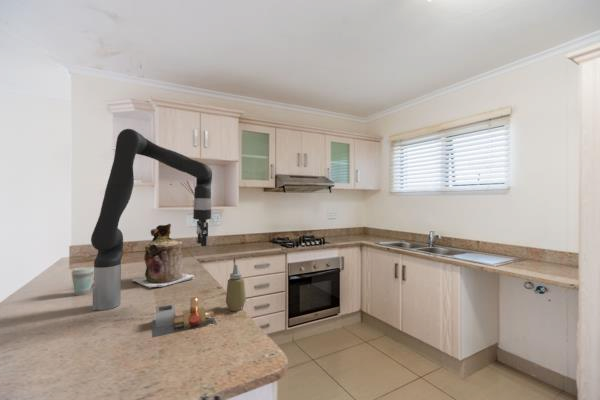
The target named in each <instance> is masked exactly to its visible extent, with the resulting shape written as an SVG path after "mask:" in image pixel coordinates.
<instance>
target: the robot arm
mask: <svg viewBox="0 0 600 400" xmlns="http://www.w3.org/2000/svg"><path fill="white" fill-rule="evenodd" d="M136 155H140V156H143V157H144V156H145V157H147V158H151V159H153V160H155V161H158V162H160V163H162V164H165V165H166V166H168V167H170V168H172V169H175V170H177V171H180V172H182V173H186V174H188V175H189V176H192V177H194V178H196V181H195V187H194V192H193V193H194V196H193V198H194V199H193V212H192V213H193V220H197V221H196V235H197V244H199V245H200V246H201V247H207V238H208V237H209V223H208V222H207V220H211V219H212V198H211V197H212V190H211V189H212V181H213V180H212V179H213V171H212V168H210V166H209V165H207V164H205V163H203V162H201V161H198V160H196V159H192V158H190V157H188V156H186V155H184V154H181V153H179V152H177V151H174V150H171V149H169V148H165V147H162V146H160V145H157V144H156V143H154V142H152V141H150V140H149V139H147V138H145V137H144V136H143V135H142V134H141V133H139V132H138V131H136V130H135V129H133V128H125V129H122V130H121V131H120V132H119V134H118V135H117V137H116V143H115V150H114V158H113V162H112V165H111V169H110V172H109V176H108V180H107V184H106V187H105V190H104V195H103V199H102V204H101V207H100V212H99V216H98V219H97V221H96V224H95V226H94V228H93V231H92V235H91V239H90V243H91V246H92V247H93V248H94V249H95V250H97V256H96V258H95V259H94V260H93V261H94V262H93V269H94V272H93V286H92V311H105V310H109V309H110V310H111V309H114V308H117V307H118V306H120V305H121V303H122V302H121V300H122V298H121V297H122V295H121V294H122V293H121V292H122V286H121V285H122V280H121V279H122V278H121V277H122V257H123V254H124V249H123V248H124V235H123V232H122V231H121V229H120V228H118V227H119V223H120V219H121V216H122V215H123V213H124V211H125V209H126V208H127V206H128V204H129V202H130V200H131V196H132V194H133V193H132V192H133V190H134V184H135V178H134V177H135V176H134V161H135V158H136Z"/></svg>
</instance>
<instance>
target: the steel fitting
mask: <svg viewBox="0 0 600 400" xmlns="http://www.w3.org/2000/svg"><path fill="white" fill-rule="evenodd" d="M175 316H176V307H175V303H171V304H165V305H161V306H155V320H156V328H157V327H162V326H167V325H172V324H174V318H175Z"/></svg>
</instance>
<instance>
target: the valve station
mask: <svg viewBox="0 0 600 400" xmlns="http://www.w3.org/2000/svg"><path fill="white" fill-rule="evenodd" d="M189 304H190V305H189V306H190V309H185V310H184V309H183V310H182V314H181V315H175V318H174V324H172V325H167V326H162V327H157V328H156V319H153V320H152V331H151V332H152V333H151V334H152V335H151V337H152V338H157V337H160V336H166V335H171V334H175V333H181V332H186V331H191V330H195V329H200V328H205V327H210V326H215V325H218V323H217V321H216V319H215V317H214V315H215V314H214V310H211V309H208V310H205V308H204V307H198V306H199V298H198V297H196V296H195V297H191V298H190V301H189Z"/></svg>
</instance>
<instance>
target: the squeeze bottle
mask: <svg viewBox="0 0 600 400" xmlns="http://www.w3.org/2000/svg"><path fill="white" fill-rule="evenodd" d="M238 266H239V265H238V264H234V266H233V269H232V273H230V274H229V279H228V280H227V286H226V295H225V303H226V306H227V310H229V311H230V312H238V311H242V310H243V309H242V308H244V307H245V302H246V300H247V298H246V288H245V279H244V278H243V277H242V274H243V273H241V272H239V271H240V270H239V267H238ZM241 307H242V308H241Z"/></svg>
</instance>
